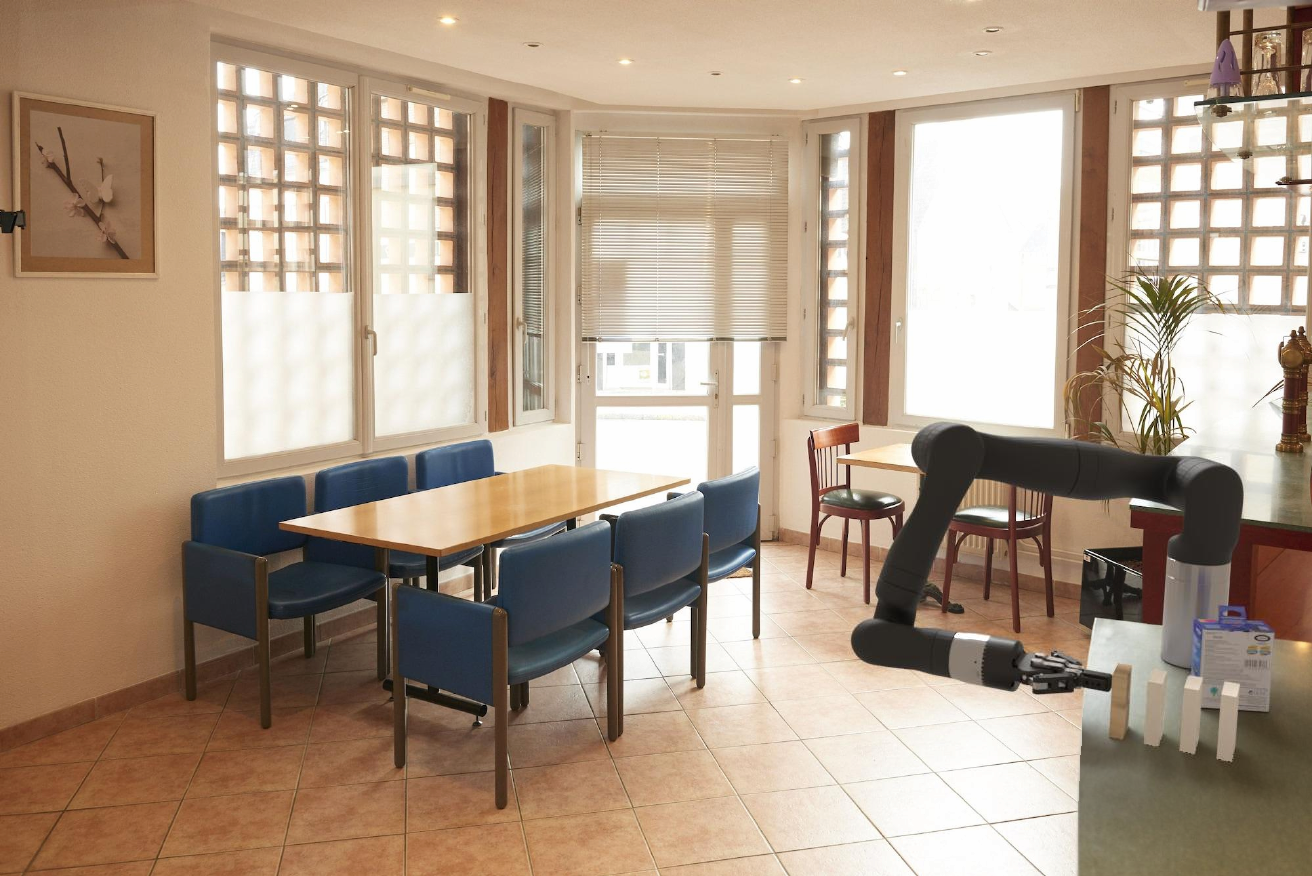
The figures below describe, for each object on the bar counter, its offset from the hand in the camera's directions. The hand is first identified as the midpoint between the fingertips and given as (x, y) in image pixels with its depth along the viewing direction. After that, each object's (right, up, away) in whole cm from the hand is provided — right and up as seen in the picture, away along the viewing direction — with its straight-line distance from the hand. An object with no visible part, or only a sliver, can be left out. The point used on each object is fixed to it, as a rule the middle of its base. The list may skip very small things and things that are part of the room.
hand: (1111, 683), depth 149 cm
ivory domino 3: (+12, -8, -7) cm, 16 cm away
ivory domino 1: (+5, -7, -2) cm, 9 cm away
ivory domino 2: (+9, -7, -4) cm, 12 cm away
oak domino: (+1, -7, 0) cm, 7 cm away
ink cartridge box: (+21, -5, +9) cm, 24 cm away
